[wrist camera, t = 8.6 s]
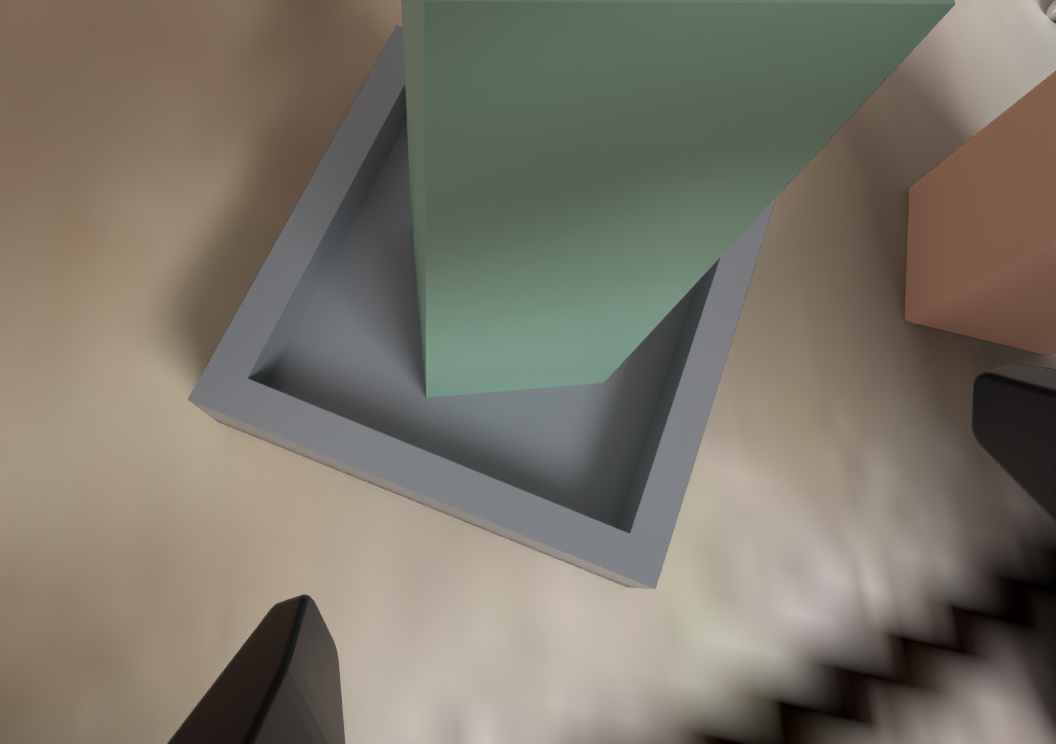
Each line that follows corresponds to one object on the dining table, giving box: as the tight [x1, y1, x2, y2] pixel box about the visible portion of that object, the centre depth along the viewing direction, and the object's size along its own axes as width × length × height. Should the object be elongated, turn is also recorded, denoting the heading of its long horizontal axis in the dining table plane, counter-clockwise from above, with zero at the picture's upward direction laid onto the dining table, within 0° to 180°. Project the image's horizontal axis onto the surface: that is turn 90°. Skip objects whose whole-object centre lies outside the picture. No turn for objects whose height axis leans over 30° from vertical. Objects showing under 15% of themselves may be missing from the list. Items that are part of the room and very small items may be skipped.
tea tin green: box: [402, 0, 955, 398], centre depth 14 cm, size 5×5×14 cm
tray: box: [188, 26, 776, 589], centre depth 20 cm, size 12×12×2 cm
